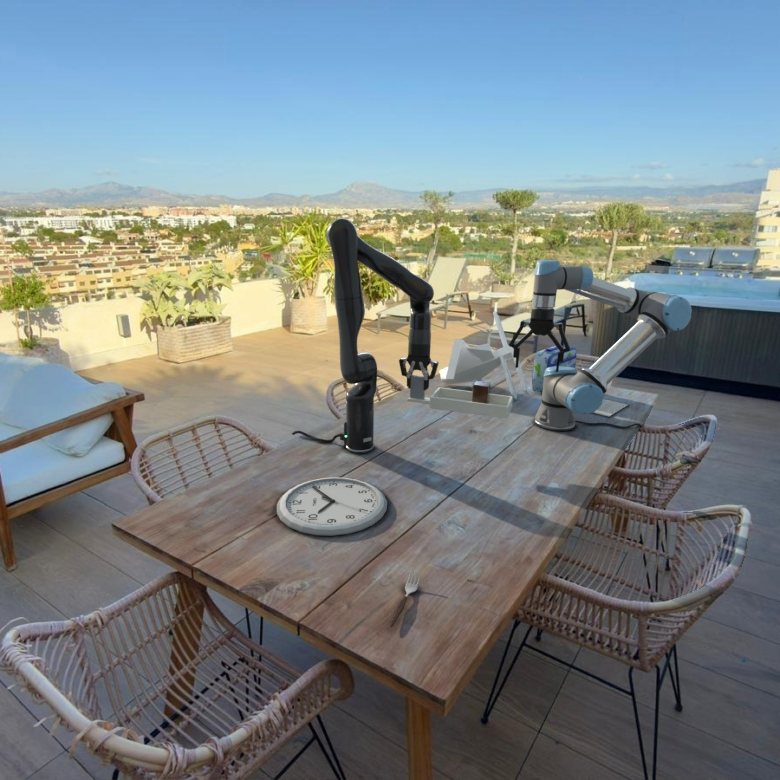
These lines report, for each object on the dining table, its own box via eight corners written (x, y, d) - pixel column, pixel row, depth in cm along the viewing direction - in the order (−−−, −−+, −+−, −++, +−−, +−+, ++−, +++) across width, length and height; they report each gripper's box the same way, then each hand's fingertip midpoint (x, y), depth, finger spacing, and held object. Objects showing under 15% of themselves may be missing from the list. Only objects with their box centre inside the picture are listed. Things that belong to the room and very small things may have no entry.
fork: (384, 627, 99) (384, 618, 99) (410, 577, 114) (410, 569, 113) (397, 631, 99) (397, 622, 98) (421, 580, 113) (421, 572, 112)
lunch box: (548, 398, 236) (553, 353, 229) (527, 393, 243) (531, 349, 237) (575, 387, 253) (581, 344, 247) (555, 382, 260) (560, 341, 254)
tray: (511, 407, 179) (514, 382, 176) (507, 419, 168) (510, 392, 165) (413, 394, 190) (414, 370, 187) (403, 404, 179) (404, 379, 176)
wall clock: (392, 527, 129) (268, 531, 127) (391, 533, 130) (269, 537, 127) (383, 473, 158) (282, 475, 155) (383, 478, 158) (282, 480, 156)
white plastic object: (461, 429, 252) (437, 405, 227) (444, 352, 274) (420, 323, 250) (535, 404, 240) (518, 377, 215) (510, 326, 262) (492, 293, 237)
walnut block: (488, 405, 178) (490, 382, 175) (486, 409, 173) (488, 386, 171) (474, 403, 179) (475, 380, 177) (471, 407, 175) (473, 384, 172)
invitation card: (608, 416, 214) (573, 407, 224) (608, 416, 214) (573, 408, 224) (628, 404, 229) (594, 396, 238) (628, 405, 229) (594, 397, 238)
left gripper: (442, 340, 178) (440, 388, 183) (402, 337, 182) (401, 383, 188) (437, 345, 171) (434, 394, 176) (396, 341, 176) (394, 389, 181)
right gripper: (582, 308, 175) (574, 369, 181) (506, 303, 182) (501, 362, 189) (582, 311, 168) (574, 375, 174) (504, 306, 175) (499, 367, 182)
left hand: (417, 388), depth 182 cm, fingers closed on tray, 5 cm apart
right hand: (536, 368), depth 181 cm, fingers open, 13 cm apart
